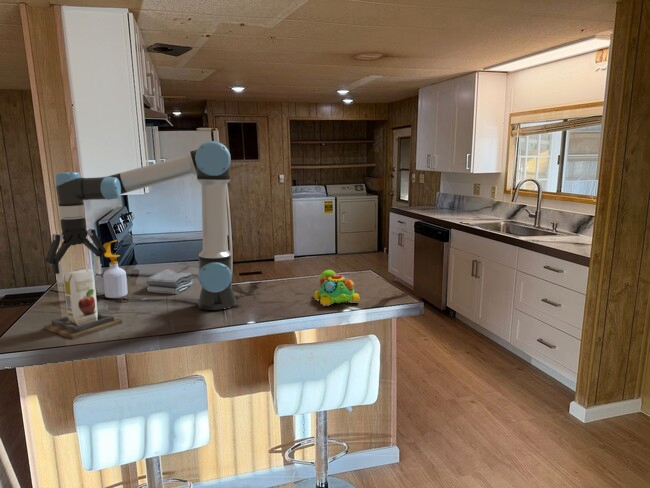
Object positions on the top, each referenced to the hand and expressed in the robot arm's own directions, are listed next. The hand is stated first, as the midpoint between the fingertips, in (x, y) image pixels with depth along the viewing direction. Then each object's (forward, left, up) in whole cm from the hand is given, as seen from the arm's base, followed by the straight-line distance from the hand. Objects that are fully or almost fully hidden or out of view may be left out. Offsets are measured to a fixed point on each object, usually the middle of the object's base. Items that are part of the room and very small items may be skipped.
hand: (80, 278), depth 158 cm
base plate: (0, 0, -18) cm, 18 cm away
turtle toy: (-61, -72, -18) cm, 96 cm away
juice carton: (0, 0, -17) cm, 17 cm away
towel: (+12, -49, -18) cm, 53 cm away
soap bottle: (+24, -29, -18) cm, 42 cm away
